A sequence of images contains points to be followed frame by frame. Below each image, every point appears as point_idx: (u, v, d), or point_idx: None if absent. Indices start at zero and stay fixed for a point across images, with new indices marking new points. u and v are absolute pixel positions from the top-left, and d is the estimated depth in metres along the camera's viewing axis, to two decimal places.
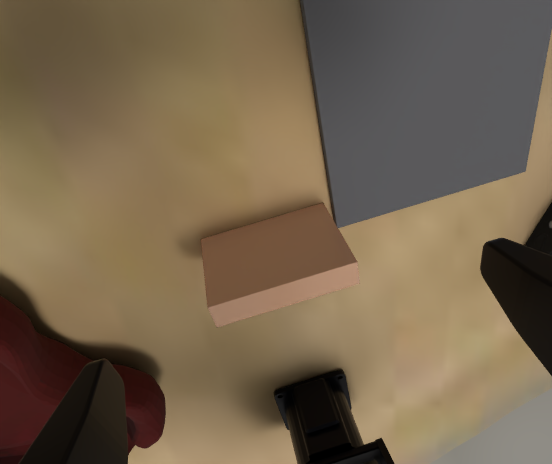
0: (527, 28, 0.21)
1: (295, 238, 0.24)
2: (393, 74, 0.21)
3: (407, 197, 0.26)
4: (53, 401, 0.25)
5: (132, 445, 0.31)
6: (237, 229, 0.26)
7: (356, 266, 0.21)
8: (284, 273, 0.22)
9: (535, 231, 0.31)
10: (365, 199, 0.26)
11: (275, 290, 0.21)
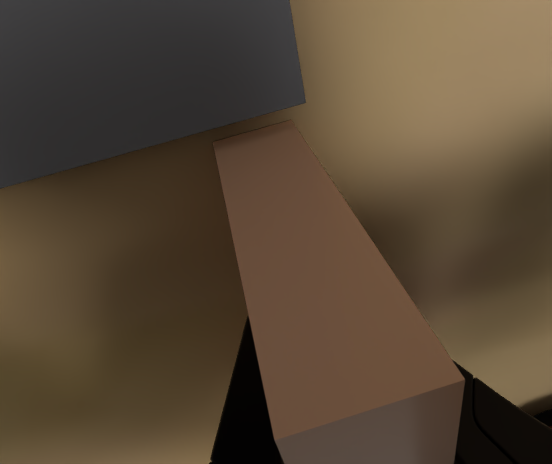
0: None
1: None
2: None
3: None
4: None
5: None
6: None
7: (312, 433, 0.03)
8: None
9: None
10: None
11: None
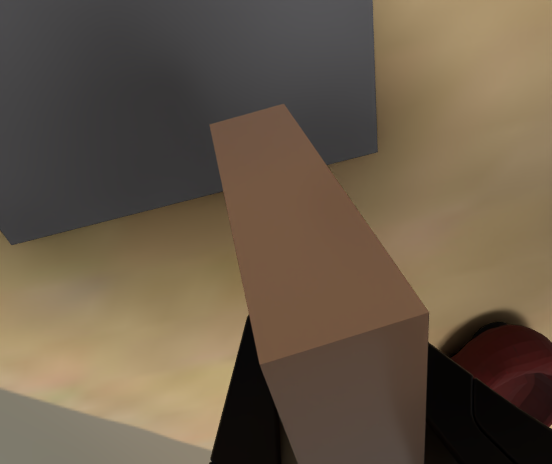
0: None
1: None
2: (174, 113, 0.17)
3: (356, 53, 0.17)
4: None
5: None
6: None
7: (293, 359, 0.04)
8: None
9: None
10: (344, 119, 0.19)
11: None
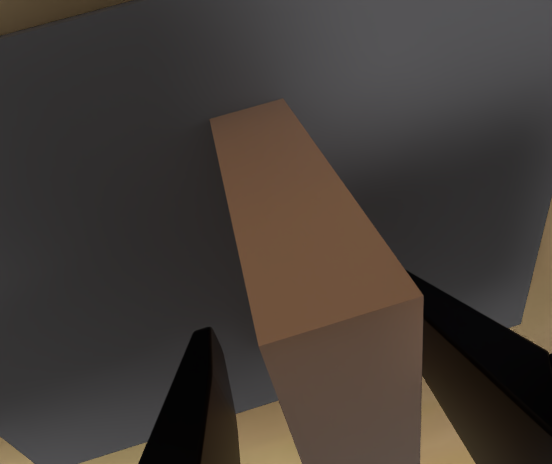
0: (175, 82, 0.08)
1: None
2: None
3: (522, 229, 0.12)
4: None
5: None
6: None
7: (291, 342, 0.04)
8: None
9: None
10: (488, 298, 0.14)
11: None
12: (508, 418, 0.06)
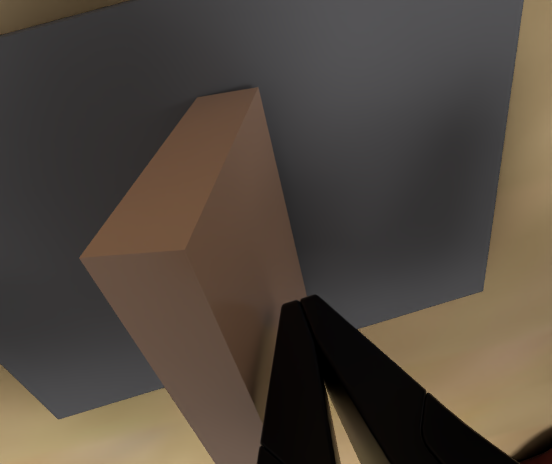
0: (168, 65, 0.10)
1: None
2: None
3: (475, 201, 0.14)
4: None
5: None
6: None
7: (100, 260, 0.06)
8: None
9: None
10: (450, 265, 0.16)
11: (197, 418, 0.08)
12: (380, 460, 0.06)
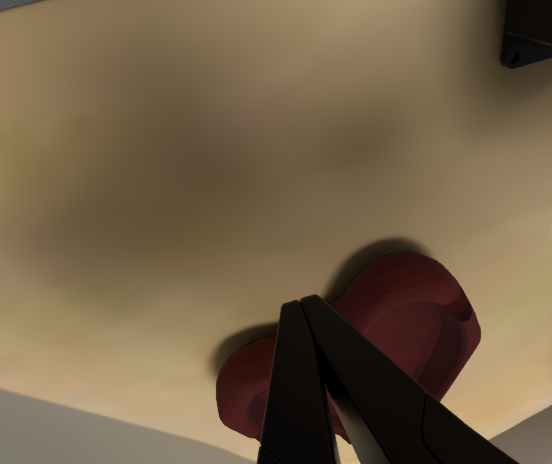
0: None
1: None
2: None
3: None
4: None
5: (462, 294, 0.26)
6: None
7: None
8: None
9: None
10: None
11: None
12: (380, 460, 0.06)
